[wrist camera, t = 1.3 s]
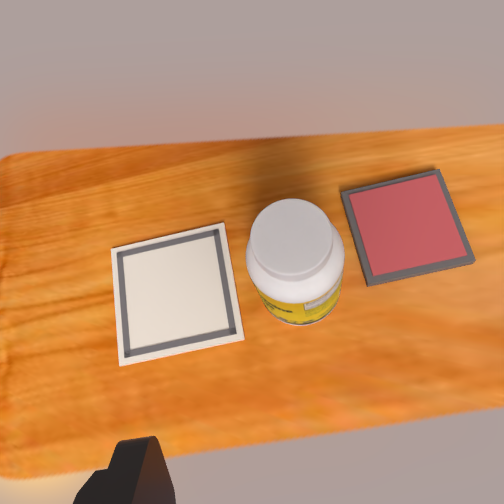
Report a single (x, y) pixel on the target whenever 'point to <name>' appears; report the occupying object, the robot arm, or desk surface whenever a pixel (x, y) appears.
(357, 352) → the desk surface
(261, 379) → the desk surface
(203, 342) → the card
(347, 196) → the ink pad
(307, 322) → the pill bottle
